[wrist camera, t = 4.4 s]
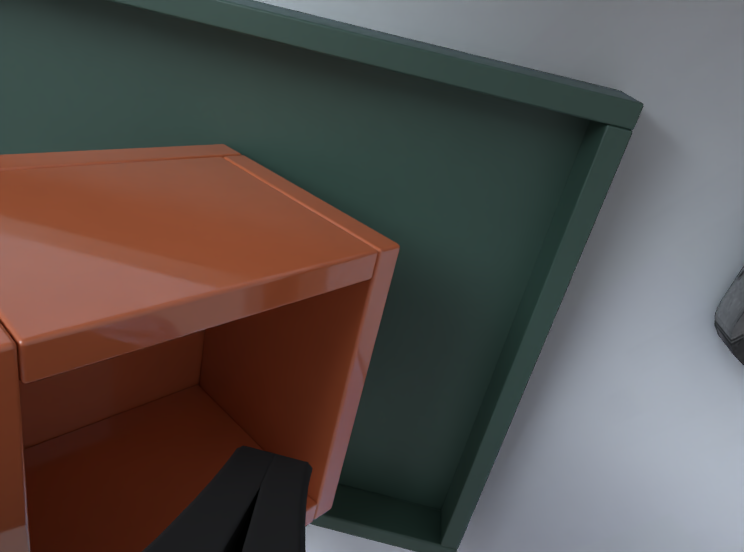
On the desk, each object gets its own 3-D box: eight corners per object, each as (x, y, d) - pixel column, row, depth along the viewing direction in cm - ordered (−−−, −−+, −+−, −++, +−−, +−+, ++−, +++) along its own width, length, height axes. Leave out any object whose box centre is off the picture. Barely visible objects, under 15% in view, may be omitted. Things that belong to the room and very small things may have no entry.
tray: (452, 516, 21) (453, 562, 19) (-96, 374, 22) (-143, 406, 20) (622, 90, 14) (645, 104, 13) (-182, -107, 15) (-265, -121, 13)
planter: (402, 244, 12) (-51, 360, 7) (332, 509, 16) (-1, 732, 10) (224, 142, 16) (-171, 161, 10) (200, 377, 19) (-103, 489, 14)
